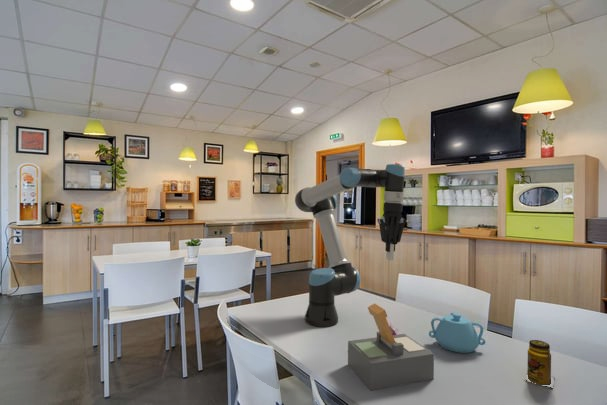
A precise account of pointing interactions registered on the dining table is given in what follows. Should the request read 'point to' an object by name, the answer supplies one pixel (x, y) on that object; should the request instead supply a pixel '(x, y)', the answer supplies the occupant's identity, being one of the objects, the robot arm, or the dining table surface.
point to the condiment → (539, 363)
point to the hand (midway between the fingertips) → (389, 259)
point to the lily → (392, 329)
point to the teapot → (457, 333)
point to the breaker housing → (390, 361)
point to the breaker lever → (382, 324)
